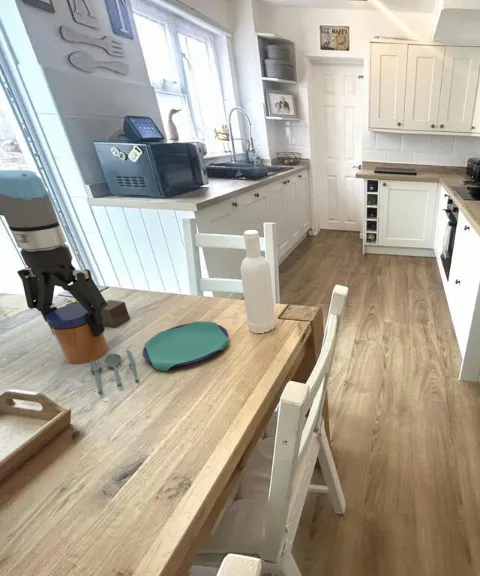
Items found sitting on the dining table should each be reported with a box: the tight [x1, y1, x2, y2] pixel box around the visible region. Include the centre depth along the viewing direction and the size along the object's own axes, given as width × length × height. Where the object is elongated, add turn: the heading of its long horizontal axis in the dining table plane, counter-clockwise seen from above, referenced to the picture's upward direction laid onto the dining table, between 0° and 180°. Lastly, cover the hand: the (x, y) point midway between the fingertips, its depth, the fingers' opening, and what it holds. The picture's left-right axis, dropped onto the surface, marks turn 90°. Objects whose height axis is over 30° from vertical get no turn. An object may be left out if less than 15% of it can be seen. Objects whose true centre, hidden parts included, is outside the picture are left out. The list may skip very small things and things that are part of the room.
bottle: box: [239, 229, 276, 334], centre depth 92 cm, size 8×8×30 cm
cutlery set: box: [90, 320, 230, 396], centre depth 84 cm, size 20×30×2 cm, turn 132°
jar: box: [51, 322, 110, 365], centre depth 80 cm, size 8×8×12 cm
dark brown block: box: [100, 299, 131, 329], centre depth 95 cm, size 5×5×6 cm
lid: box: [46, 303, 92, 329], centre depth 78 cm, size 9×9×2 cm
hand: (79, 332), depth 80 cm, fingers closed on lid, 9 cm apart
